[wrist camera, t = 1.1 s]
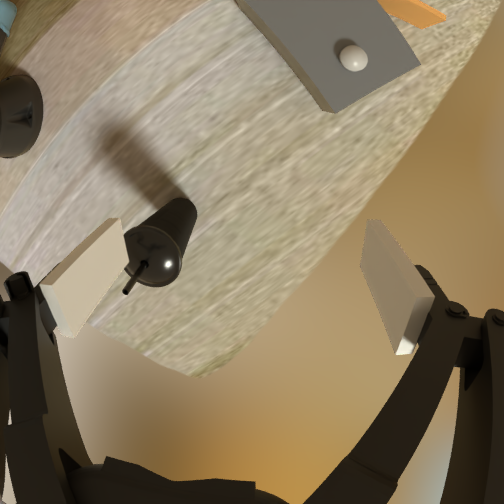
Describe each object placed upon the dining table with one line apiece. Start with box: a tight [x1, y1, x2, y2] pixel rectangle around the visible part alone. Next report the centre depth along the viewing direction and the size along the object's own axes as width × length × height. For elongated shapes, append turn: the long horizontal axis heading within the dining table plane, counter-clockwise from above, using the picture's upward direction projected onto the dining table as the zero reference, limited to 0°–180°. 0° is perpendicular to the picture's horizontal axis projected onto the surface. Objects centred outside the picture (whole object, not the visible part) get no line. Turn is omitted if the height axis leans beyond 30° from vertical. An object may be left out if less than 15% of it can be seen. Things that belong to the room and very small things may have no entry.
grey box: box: [236, 0, 421, 114], centre depth 26 cm, size 18×14×10 cm
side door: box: [377, 0, 446, 29], centre depth 24 cm, size 12×2×7 cm, turn 77°
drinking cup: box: [122, 198, 197, 295], centre depth 36 cm, size 8×8×20 cm
